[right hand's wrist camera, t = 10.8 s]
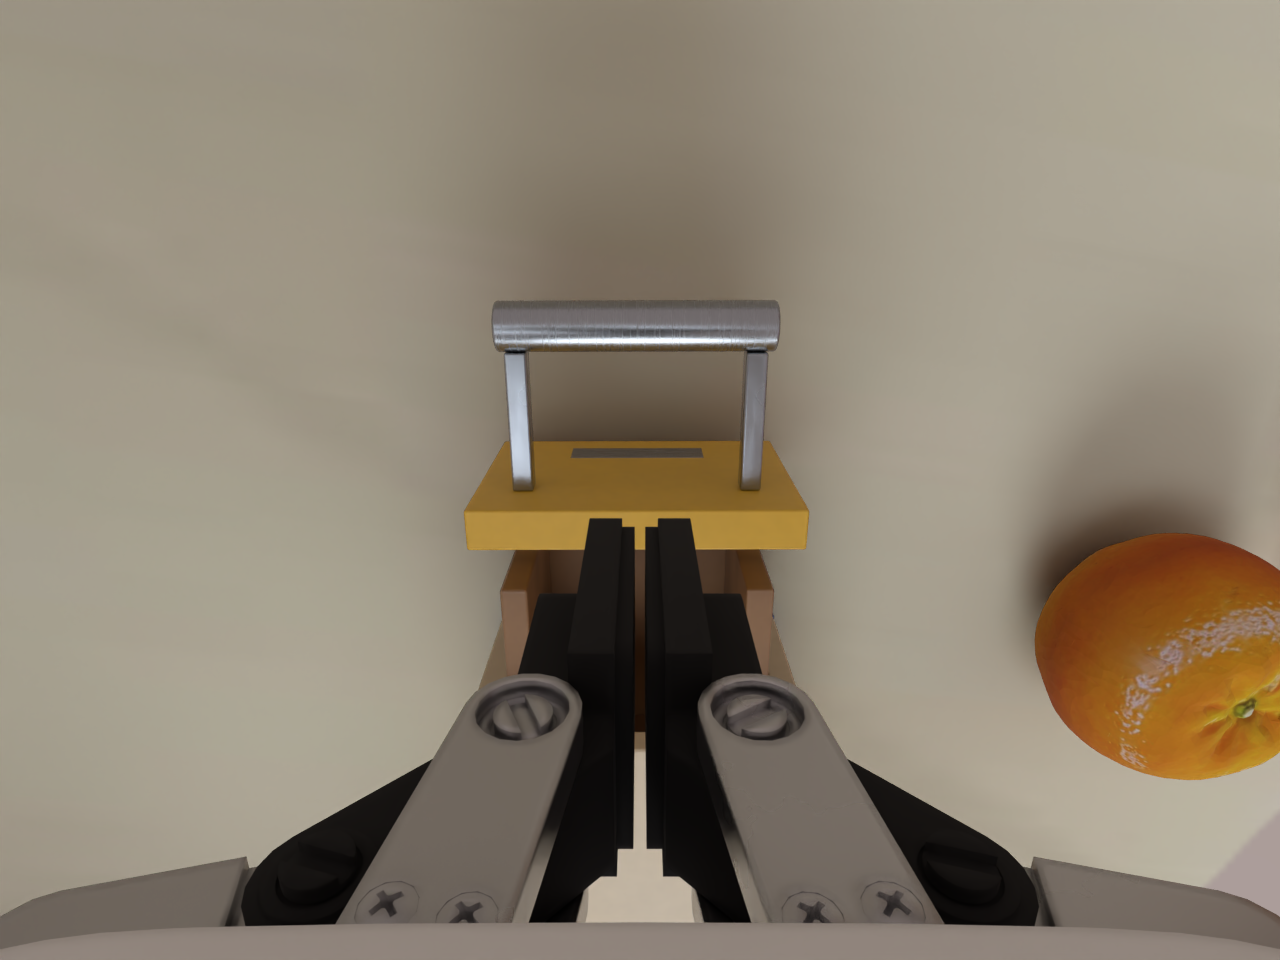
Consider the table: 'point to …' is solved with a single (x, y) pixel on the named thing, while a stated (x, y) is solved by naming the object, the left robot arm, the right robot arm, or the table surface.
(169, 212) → the table surface
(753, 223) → the table surface
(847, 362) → the table surface
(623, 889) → the cabinet
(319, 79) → the table surface
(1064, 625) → the fruit
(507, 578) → the drawer
